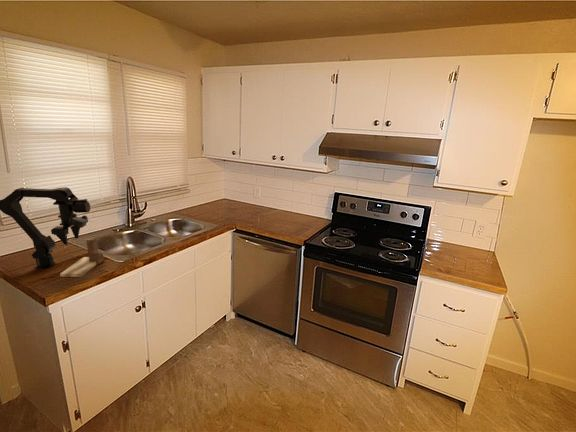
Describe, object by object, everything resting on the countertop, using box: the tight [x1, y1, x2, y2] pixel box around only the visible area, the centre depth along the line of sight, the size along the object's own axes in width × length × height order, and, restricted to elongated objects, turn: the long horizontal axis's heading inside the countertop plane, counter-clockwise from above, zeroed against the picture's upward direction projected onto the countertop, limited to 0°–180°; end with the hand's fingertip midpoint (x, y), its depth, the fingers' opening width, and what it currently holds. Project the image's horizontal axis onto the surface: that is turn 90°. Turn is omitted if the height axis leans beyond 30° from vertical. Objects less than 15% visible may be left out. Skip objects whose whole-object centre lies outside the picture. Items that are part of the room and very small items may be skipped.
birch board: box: [59, 256, 98, 278], centre depth 163 cm, size 10×20×2 cm, turn 3°
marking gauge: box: [85, 237, 105, 265], centre depth 167 cm, size 6×5×14 cm
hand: (71, 241), depth 163 cm, fingers open, 9 cm apart
